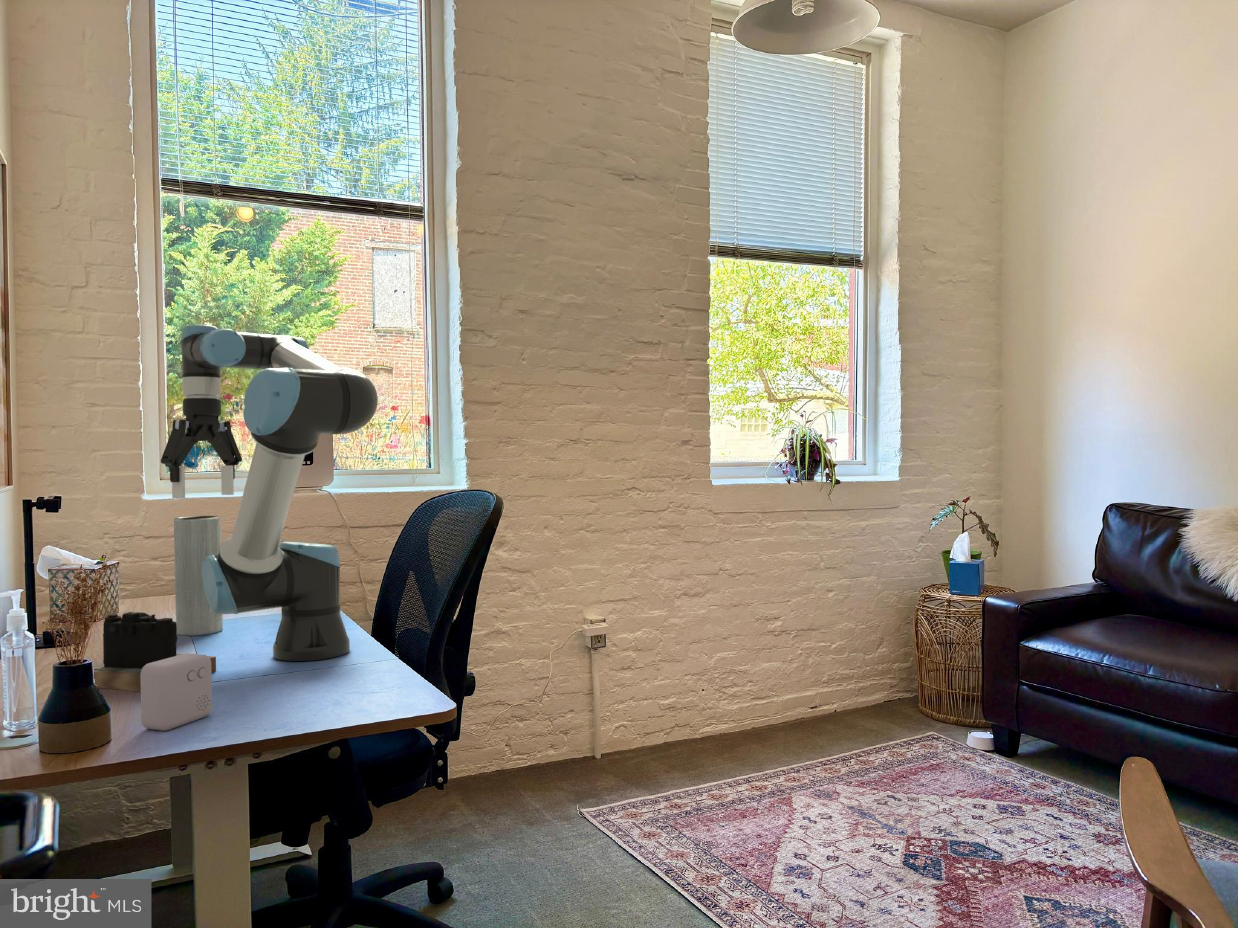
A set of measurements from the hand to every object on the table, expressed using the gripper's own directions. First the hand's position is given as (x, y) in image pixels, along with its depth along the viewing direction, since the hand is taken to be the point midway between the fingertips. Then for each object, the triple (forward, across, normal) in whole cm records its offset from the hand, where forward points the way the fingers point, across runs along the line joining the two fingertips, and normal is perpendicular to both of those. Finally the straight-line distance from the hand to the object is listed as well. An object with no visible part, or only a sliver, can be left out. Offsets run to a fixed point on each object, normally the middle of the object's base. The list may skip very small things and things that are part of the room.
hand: (204, 496), depth 194 cm
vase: (+33, -13, -15) cm, 38 cm away
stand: (+33, +24, +10) cm, 42 cm away
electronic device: (+33, +44, +38) cm, 67 cm away
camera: (+30, +24, +10) cm, 40 cm away
